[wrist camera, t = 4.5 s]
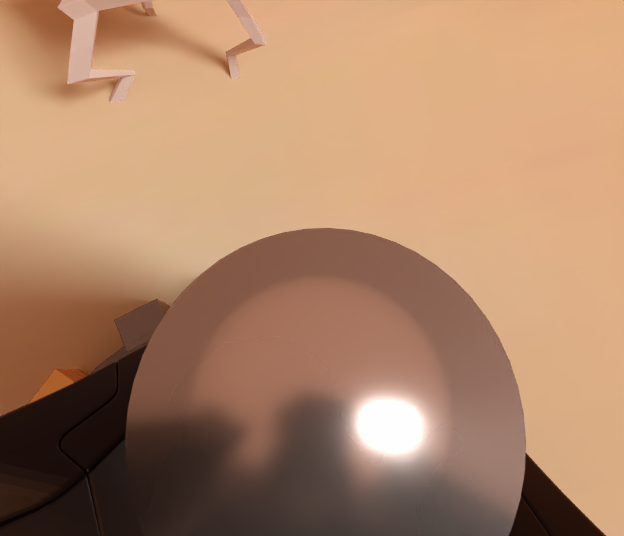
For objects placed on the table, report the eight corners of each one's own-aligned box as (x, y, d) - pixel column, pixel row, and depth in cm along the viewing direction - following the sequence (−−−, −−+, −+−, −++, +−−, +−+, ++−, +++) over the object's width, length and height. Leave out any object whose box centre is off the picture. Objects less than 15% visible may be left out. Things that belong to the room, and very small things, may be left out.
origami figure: (39, 119, 19) (-48, 34, 14) (67, 0, 21) (0, -107, 17) (268, 121, 19) (258, 39, 15) (270, 4, 22) (262, -100, 17)
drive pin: (354, 435, 13) (558, 662, 3) (257, 434, 13) (89, 666, 3) (352, 337, 14) (496, 232, 4) (262, 335, 14) (154, 223, 4)
